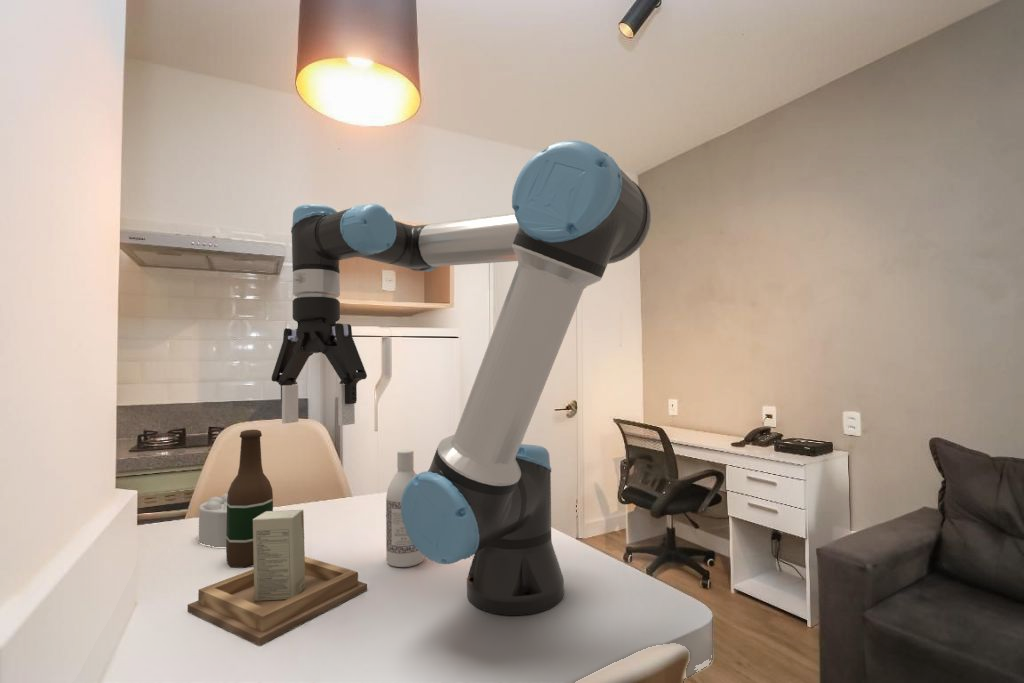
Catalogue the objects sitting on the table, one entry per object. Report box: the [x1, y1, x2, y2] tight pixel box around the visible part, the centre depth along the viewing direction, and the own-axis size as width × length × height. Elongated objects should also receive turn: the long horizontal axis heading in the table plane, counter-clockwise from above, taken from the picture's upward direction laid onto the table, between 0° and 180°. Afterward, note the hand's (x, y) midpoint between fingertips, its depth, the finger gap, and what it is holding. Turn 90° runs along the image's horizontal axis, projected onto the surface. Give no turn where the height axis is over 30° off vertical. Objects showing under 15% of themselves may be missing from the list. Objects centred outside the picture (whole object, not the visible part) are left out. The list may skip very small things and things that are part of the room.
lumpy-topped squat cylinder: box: [198, 492, 228, 547], centre depth 105 cm, size 10×13×9 cm
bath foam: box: [385, 449, 426, 568], centre depth 91 cm, size 7×7×20 cm
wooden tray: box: [187, 556, 368, 647], centre depth 76 cm, size 18×18×3 cm
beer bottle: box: [225, 429, 274, 568], centre depth 93 cm, size 8×8×24 cm
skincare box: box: [253, 509, 306, 601], centre depth 76 cm, size 6×4×12 cm
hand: (317, 423), depth 83 cm, fingers open, 13 cm apart
